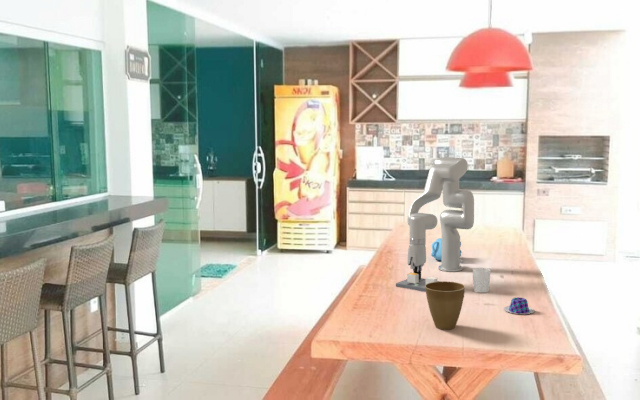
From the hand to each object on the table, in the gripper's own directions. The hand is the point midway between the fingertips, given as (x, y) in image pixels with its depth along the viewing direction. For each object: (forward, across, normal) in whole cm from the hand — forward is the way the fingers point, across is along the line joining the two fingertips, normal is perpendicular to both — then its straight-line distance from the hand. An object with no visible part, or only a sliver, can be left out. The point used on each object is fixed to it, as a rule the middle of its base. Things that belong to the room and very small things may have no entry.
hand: (417, 279), depth 303 cm
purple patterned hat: (+3, +11, +55) cm, 56 cm away
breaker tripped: (+1, +4, 0) cm, 4 cm away
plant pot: (+3, +48, +41) cm, 63 cm away
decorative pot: (+3, -57, -16) cm, 60 cm away
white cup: (+3, -8, +29) cm, 30 cm away
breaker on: (+1, +6, +11) cm, 12 cm away
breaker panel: (+3, +1, +6) cm, 6 cm away
